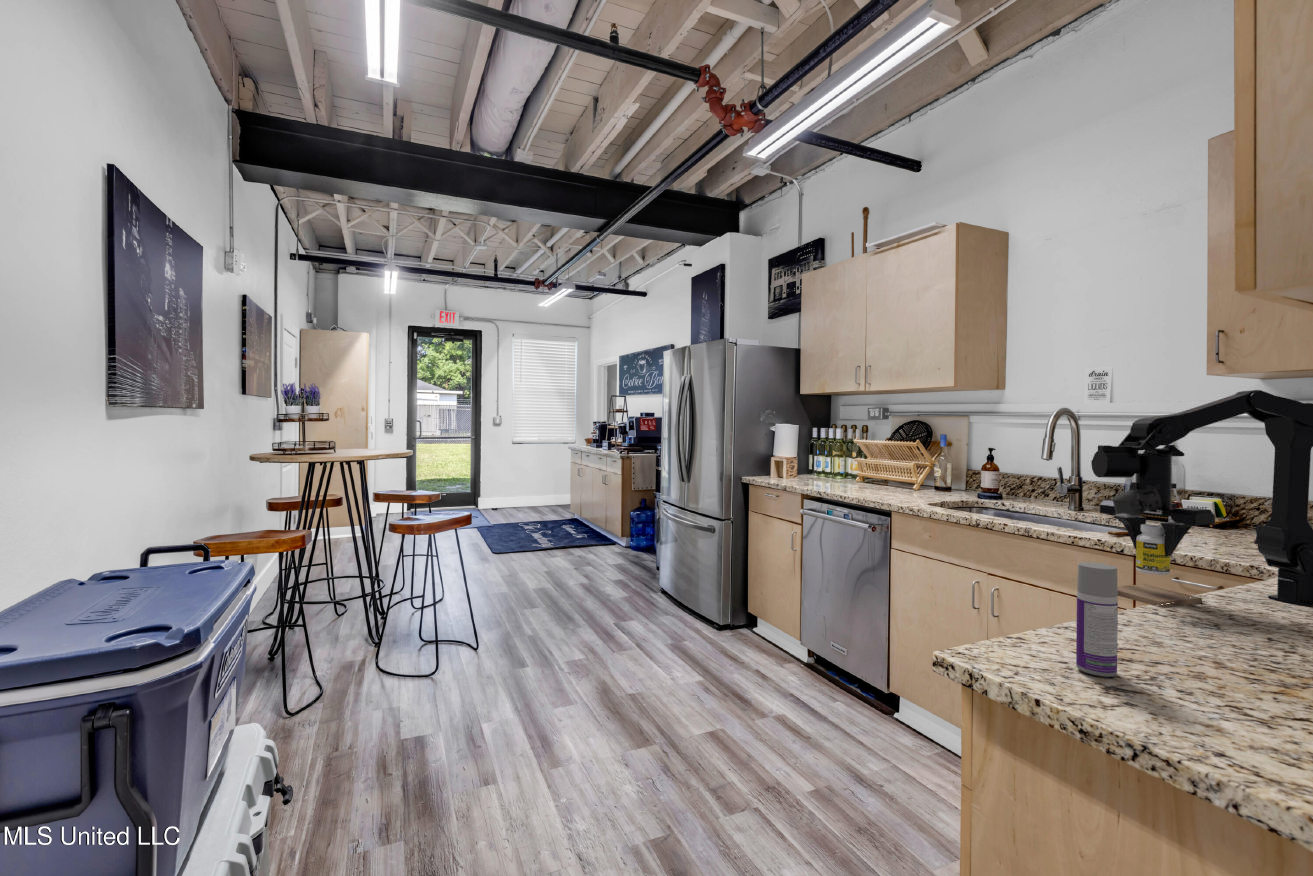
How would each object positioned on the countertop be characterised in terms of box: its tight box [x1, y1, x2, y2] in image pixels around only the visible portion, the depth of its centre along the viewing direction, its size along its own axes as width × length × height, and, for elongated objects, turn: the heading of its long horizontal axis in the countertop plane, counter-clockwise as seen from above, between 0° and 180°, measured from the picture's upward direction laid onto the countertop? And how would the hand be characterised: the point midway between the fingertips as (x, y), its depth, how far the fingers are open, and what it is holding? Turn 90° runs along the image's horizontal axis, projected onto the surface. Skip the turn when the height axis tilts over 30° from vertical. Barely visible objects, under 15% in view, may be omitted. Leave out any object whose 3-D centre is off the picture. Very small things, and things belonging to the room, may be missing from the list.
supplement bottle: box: [1135, 523, 1171, 576], centre depth 121 cm, size 5×5×10 cm
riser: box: [1117, 583, 1203, 608], centre depth 121 cm, size 11×11×2 cm
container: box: [1075, 561, 1119, 678], centre depth 83 cm, size 5×5×15 cm
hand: (1153, 553), depth 121 cm, fingers closed on supplement bottle, 5 cm apart
